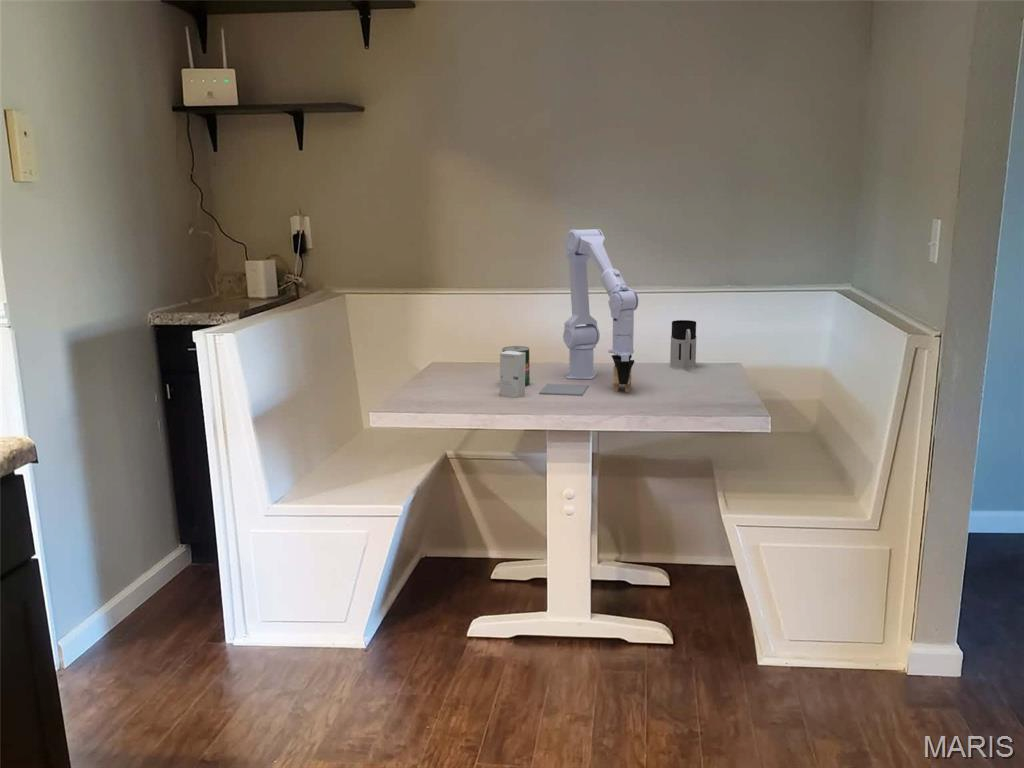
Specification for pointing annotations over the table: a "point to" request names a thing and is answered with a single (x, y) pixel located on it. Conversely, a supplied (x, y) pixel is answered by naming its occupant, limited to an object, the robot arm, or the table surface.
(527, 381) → the canned tomato
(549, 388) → the slate mat
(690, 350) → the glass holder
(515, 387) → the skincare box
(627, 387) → the notched wooden block
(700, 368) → the table surface
